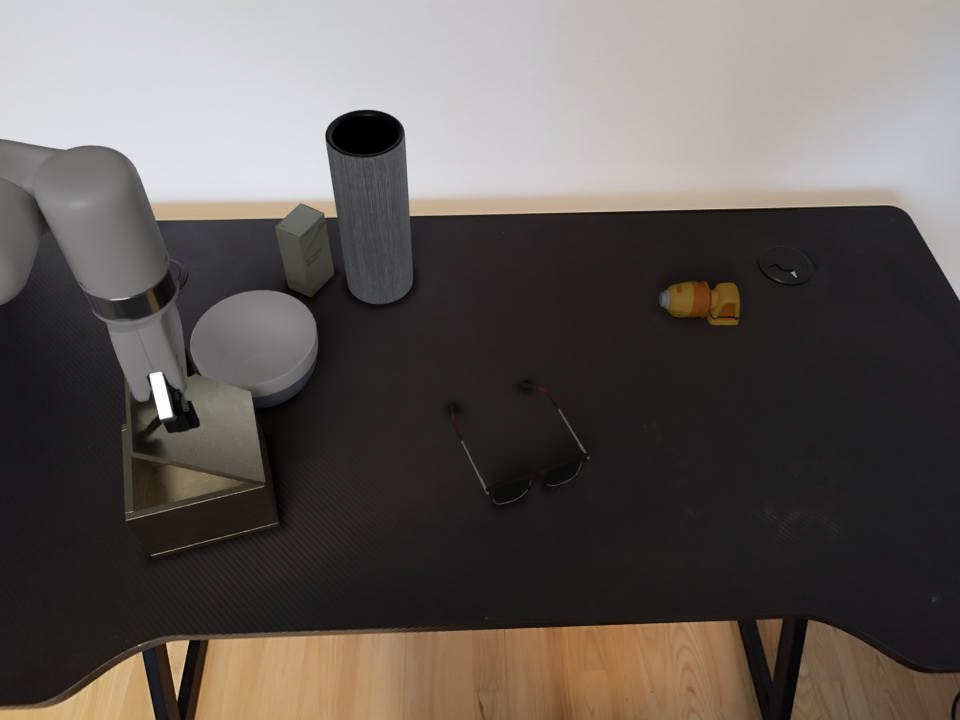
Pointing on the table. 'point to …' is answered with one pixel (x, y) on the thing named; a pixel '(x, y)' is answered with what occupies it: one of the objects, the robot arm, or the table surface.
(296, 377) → the white round container
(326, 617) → the table surface
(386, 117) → the vase
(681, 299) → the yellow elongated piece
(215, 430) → the lid
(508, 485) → the sunglasses
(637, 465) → the table surface
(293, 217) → the cosmetic box
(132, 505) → the brown hollow box
